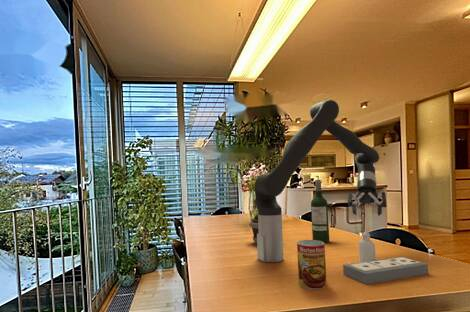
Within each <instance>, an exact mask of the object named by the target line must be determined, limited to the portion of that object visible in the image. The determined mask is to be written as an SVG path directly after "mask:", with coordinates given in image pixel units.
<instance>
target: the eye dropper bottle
mask: <svg viewBox="0 0 470 312" xmlns="http://www.w3.org/2000/svg"><path fill="white" fill-rule="evenodd" d="M376 255H377V253H376V245H375V242H373V241H372V240H371V235H370V233H369V231H368V230H367V229H364V232H363V233H362V239H361V240H359V241H358V256H359V257H358V258H359V263H360V262H367V261H374V260H377V258H376Z"/></svg>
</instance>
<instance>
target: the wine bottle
mask: <svg viewBox="0 0 470 312" xmlns="http://www.w3.org/2000/svg"><path fill="white" fill-rule="evenodd" d="M314 181H315V196H314V198H312V200H311V202H310V207H311V208H310V211H311V212H310V214H311V231H312V232H311V234H312V235H311V236H312V240H317V241H322V242H324V243H325V244H328V243H330V230H329V229H330V227H329V210H328V209H329V207H328V200H327V199H326V198H325V197H323V193H322V192H323V191H322V180H321V179H315V180H314Z"/></svg>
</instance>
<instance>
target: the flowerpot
mask: <svg viewBox="0 0 470 312" xmlns="http://www.w3.org/2000/svg"><path fill="white" fill-rule="evenodd" d="M248 225H249V227H250V228H251V229H252V234H253V236H252V241H253V242H254V243H255V245H257V234H259V227H258V212H257V213H256V214H255V215H254V217H253V218H252V219H251V221H249V223H248Z"/></svg>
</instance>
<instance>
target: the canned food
mask: <svg viewBox="0 0 470 312" xmlns="http://www.w3.org/2000/svg"><path fill="white" fill-rule="evenodd" d="M325 244H326V243H324V242H322V241H317V240H313V239H303V240H298V241H297V242H296V248H297V252H296V253H297V269H298V270H297V271H298V285H299V286H300V287H301V288H304V289H307V290H321V289H322V290H323V289H324V288H326V287H327V284H328V283H327V267H326V264H327V263H326V247H325Z"/></svg>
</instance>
